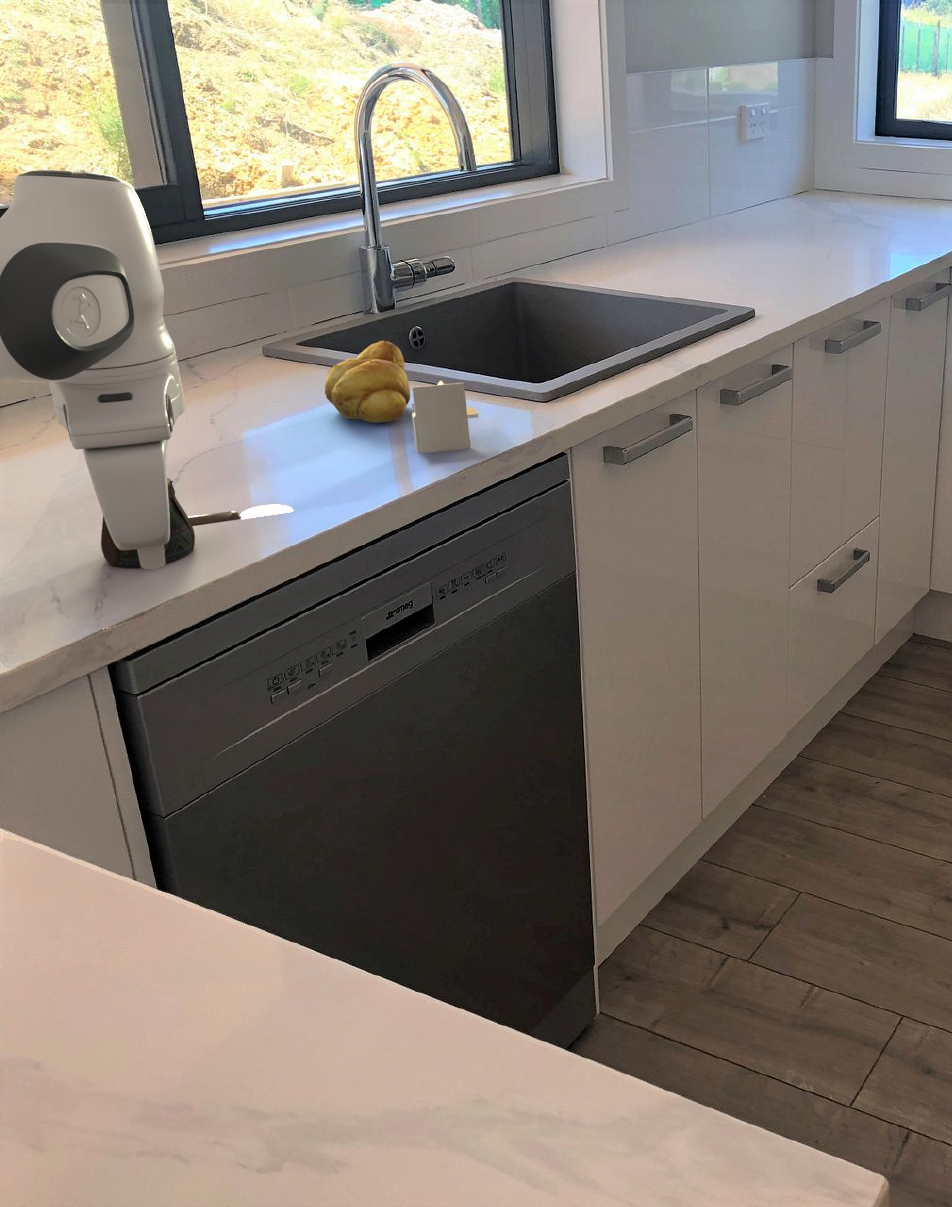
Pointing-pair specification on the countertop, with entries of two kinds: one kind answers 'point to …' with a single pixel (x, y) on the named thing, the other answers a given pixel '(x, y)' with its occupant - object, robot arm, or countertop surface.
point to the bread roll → (370, 384)
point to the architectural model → (441, 417)
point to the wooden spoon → (236, 516)
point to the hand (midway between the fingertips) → (153, 562)
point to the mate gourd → (174, 549)
